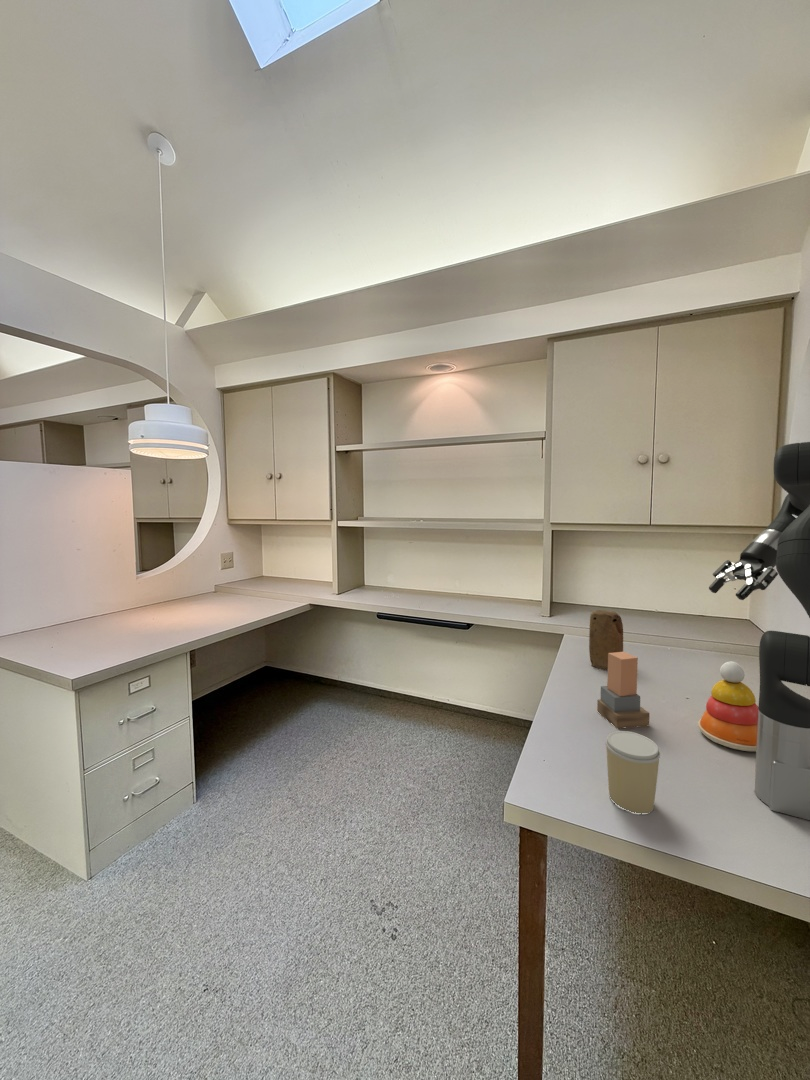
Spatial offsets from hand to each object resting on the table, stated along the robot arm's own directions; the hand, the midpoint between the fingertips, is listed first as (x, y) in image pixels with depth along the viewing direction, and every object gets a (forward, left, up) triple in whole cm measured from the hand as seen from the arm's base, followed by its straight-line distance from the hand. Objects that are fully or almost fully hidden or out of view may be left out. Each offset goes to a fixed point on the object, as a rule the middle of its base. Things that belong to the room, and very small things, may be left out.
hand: (724, 594), depth 111 cm
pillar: (-14, +23, -26) cm, 38 cm away
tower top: (-14, +24, -30) cm, 41 cm away
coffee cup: (-48, +20, -34) cm, 62 cm away
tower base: (-14, +23, -34) cm, 43 cm away
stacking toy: (-12, -1, -34) cm, 36 cm away
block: (+24, +30, -34) cm, 51 cm away
